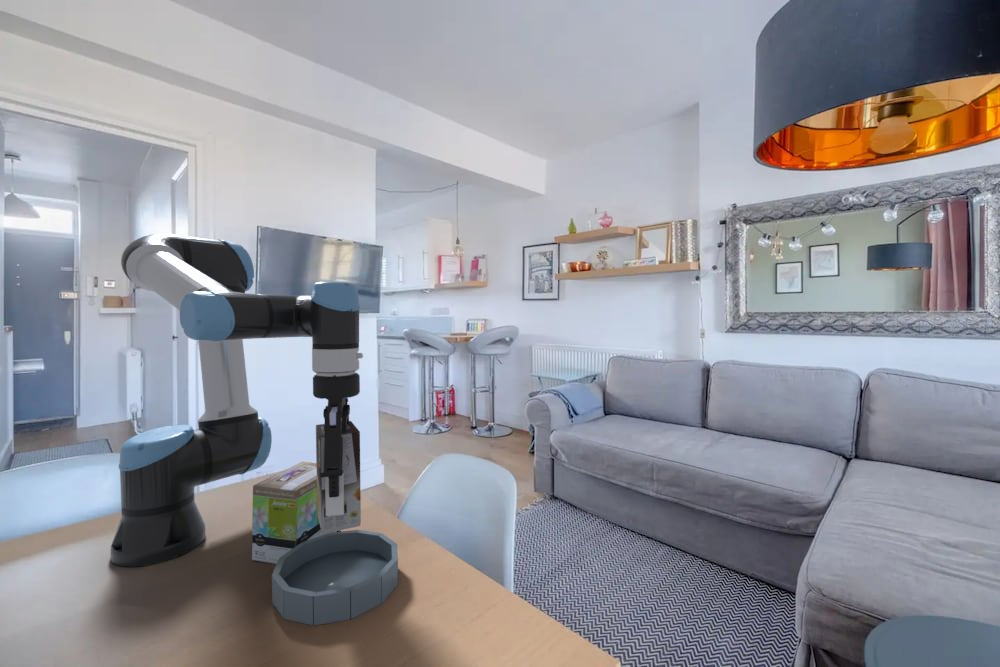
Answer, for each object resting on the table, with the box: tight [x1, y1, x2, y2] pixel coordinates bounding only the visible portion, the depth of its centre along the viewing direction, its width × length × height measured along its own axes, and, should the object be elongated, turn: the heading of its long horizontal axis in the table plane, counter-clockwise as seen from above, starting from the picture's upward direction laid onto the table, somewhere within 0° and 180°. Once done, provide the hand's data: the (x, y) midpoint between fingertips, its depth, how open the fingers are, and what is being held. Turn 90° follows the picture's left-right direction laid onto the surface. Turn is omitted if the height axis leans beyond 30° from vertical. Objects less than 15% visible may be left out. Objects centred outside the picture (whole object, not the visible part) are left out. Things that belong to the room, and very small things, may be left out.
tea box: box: [251, 461, 337, 565], centre depth 90 cm, size 15×10×15 cm
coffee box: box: [315, 420, 362, 534], centre depth 76 cm, size 9×6×16 cm
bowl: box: [271, 529, 399, 626], centre depth 77 cm, size 20×20×4 cm
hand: (338, 501), depth 76 cm, fingers closed on coffee box, 10 cm apart
